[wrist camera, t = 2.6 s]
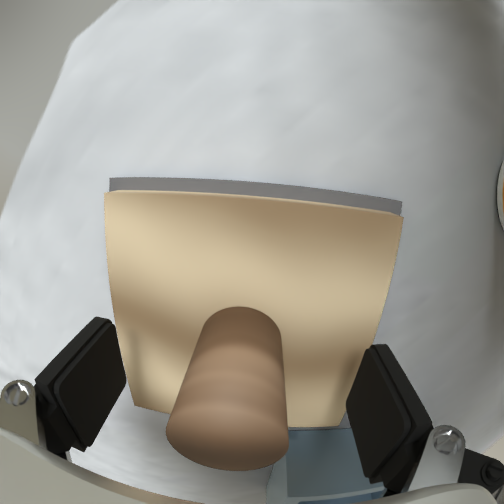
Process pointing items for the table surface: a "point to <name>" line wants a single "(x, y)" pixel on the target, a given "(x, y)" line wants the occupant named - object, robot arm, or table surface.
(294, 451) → the blue square bin
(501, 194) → the pill bottle
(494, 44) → the table surface
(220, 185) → the mat
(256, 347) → the lid
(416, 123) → the table surface
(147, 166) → the table surface
